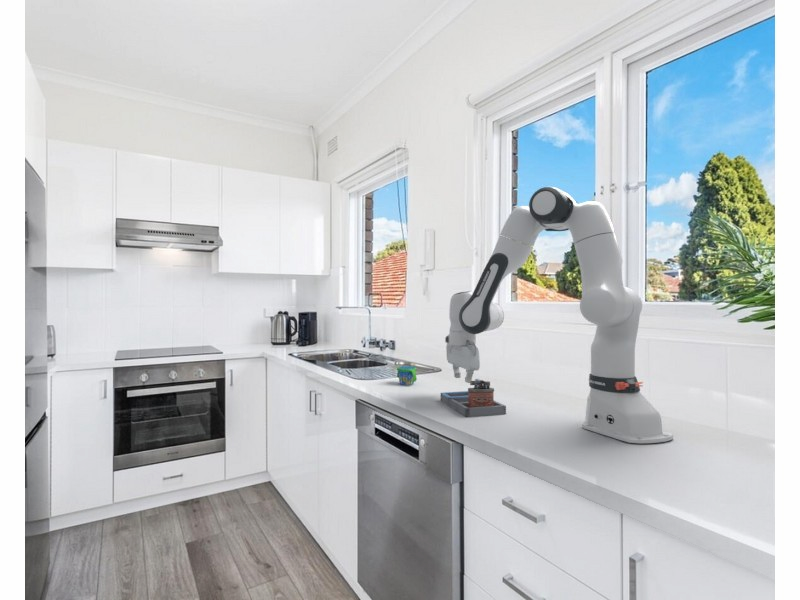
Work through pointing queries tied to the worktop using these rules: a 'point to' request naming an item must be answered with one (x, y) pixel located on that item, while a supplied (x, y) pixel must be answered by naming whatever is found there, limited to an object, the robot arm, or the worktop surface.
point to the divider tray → (461, 404)
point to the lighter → (481, 394)
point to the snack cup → (406, 375)
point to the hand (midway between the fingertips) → (462, 380)
